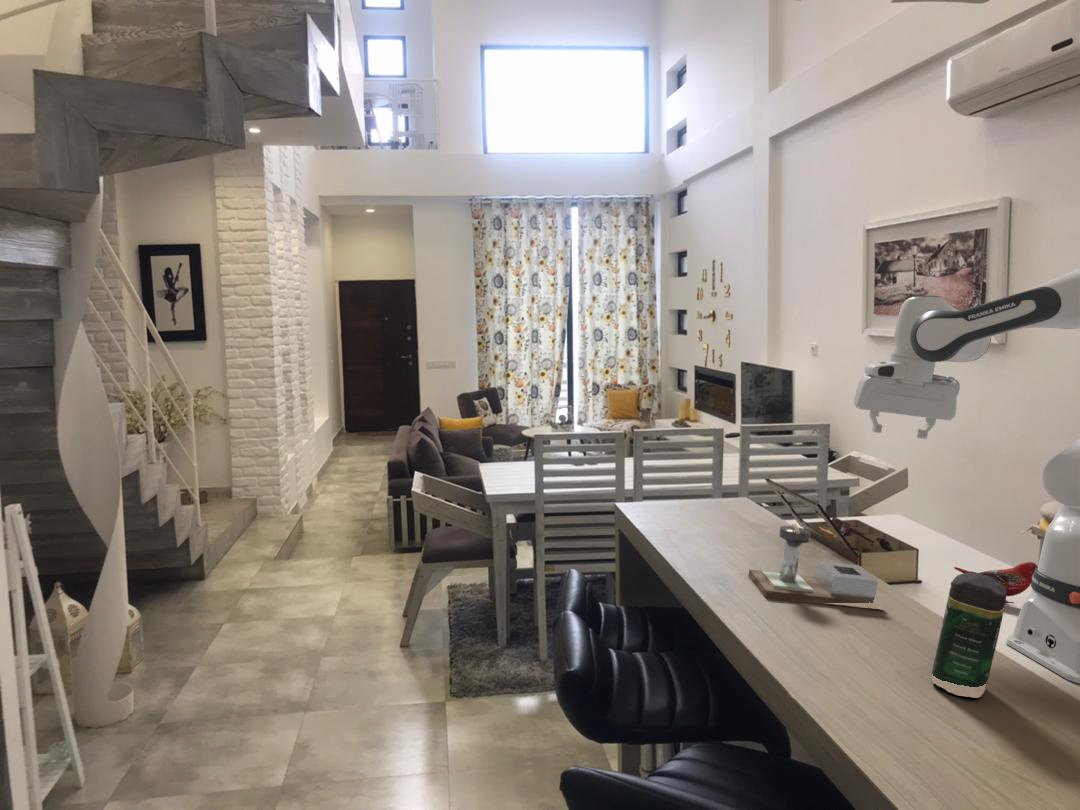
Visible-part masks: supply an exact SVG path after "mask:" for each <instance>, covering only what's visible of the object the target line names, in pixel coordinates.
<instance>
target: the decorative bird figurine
mask: <svg viewBox="0 0 1080 810" xmlns="http://www.w3.org/2000/svg"><path fill="white" fill-rule="evenodd" d="M953 568H954V569H955V570H956V571H958V572H959V573H960V572H961V574H964V573H969V572H971V571H970V570H967V569H963V568H960V567H956V566H954V567H953ZM1036 568H1038V565H1037V564H1036V563H1035V562H1033V561H1029V562H1028V561H1027V562H1023V563H1020V564H1018V565H1016V566H1014V567H1011V568H1005V569H993V570H991V569H990V570H987V571H981V572H979V573H980V574H983V575H987V576H990V577H994V578H996V579H998V581H999V582H1000V583H1001V584H1002V585H1003V586H1004V587H1005V588H1006V590H1007V595H1006V597H1012V596H1013V597H1014V596H1017V595H1019V594H1021V593H1023V592H1025V591H1026V590H1027V589H1028V588H1029V587H1031V583H1032V576H1033V574H1034V571H1035V569H1036ZM1007 604H1014V605H1015V602H1013V601H1008V600H1007V599H1006V601H1005V605H1007Z"/></svg>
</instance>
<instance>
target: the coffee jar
mask: <svg viewBox="0 0 1080 810" xmlns="http://www.w3.org/2000/svg"><path fill="white" fill-rule="evenodd" d="M1006 595H1007V590H1006V588H1005V587H1004V586H1003V585H1002V584H1001V583H1000V582H999V581H998V579H996V578H994V577H990V576H987V575H983V574H980V572H976V571H970V572H969V573H961V574H957V575H956V576H955V577H954V578H953V579H952V581H951V582H950V589H949V592H948V596H947V601H946V604H945V611H944V614H943V620H942V623H941V629H940V633H939V638H938V639H939V640H938V644H937V648H936V651H935V652H936V653H935V656H934V659H933V666H932V669H931V674H933V676H935V677H936V678H938V679H940V680H942V681H947V682H950V683H954V684H957V685H964V686H969V687H979V686H983V685H984V684H986V682H987V681H988V682H989V679H990V672H991V667H992V666H993V665H992V664H993V661H994V657H995V653H996V648H997V643H998V640H999V635H1000V630H1001V627H1002V621H1003V616H1004V611H1005V605H1006V604H1005V601H1006V600H1007V596H1006ZM988 682H987V683H988Z"/></svg>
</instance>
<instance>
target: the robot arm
mask: <svg viewBox="0 0 1080 810" xmlns="http://www.w3.org/2000/svg"><path fill="white" fill-rule="evenodd" d="M1031 328H1032V329H1034V328H1035V329H1037V328H1039V329H1040V328H1043V329H1044V328H1045V329H1056V330H1057V329H1058V330H1059V329H1060V330H1077V329H1080V267H1079V268H1077V269H1074V270H1072V271H1070V272H1067V273H1064V274H1062V275H1060V276H1058V277H1055V278H1053V279H1051V280H1048V281H1046V282H1044V283H1041V284H1038V285H1036V286H1034V287H1031V288H1028V289H1025V290H1023V291H1021V292H1019V293H1015V294H1011V295H1009V296H1006V297H1005V296H1004V297H1002V298H999V299H995V300H991V301H988V302H986V303H982V304H978V305H976V306H973V307H969V308H965V309H961V310H959V309H956V308H955V307H954V306H952V305H950V304H949V303H948V302H947V301H946V300H945V299H944V298H943V297H941V296H940V295H930V294H929V295H926V294H925V295H923V294H922V295H917V296H916V295H915V296H911V297H908V298H907V299H905V300H904V302H903V303H902V305H901V306H900V309H899V313H898V317H897V320H896V324H895V329H894V336H893V337H894V344H893V345H894V347H893V348H892V351H891V353H890V357H889V360H885V361H880V362H874V363H873V362H872V363H868V364H866V365H865V366H864V373H865V374H866V375H864V376H862V377H860V379H859V381H858V384H857V388H856V390H855V394H854V400H853V404H854V406H855V407H856V408H857V409H859V410H864V411H869V413H868V414H869V418H870V420H871V422H872V427H871V432H872V433H877V434H881V433H882V429H883V424H881V423H879V422H878V420H877V417H879V416H880V413H888V414H893V415H894V414H896V415H902V416H911V417H918V418H920V417H921V418H925V426H924V427H922V429H921V428H919V429H917V435H916V437H917V438H918V439H924V440H927V438H928V434H929V432H930V430H931V429H932V428H933V427H934V426H935V425H936V423H937V420H941V421H942V420H944V421H950V422H951V421H952V420H953V419H954V418H955V417H956V412H957V397H958V395H959V393H960V389H961V385H960V382H959V381H958V380H957V379H956V378H955V377H953V376H945V375H940V374H934V373H935V367H936V363H938V362H939V363H940V362H949V363H969V362H974V361H976V360H979V359H980V358H982V356H984V355H985V354H986V353H987V352H988V349H989V348H990V347H991V346H990V345H991V342H992V340H991V339H992V337H995V336H999V335H1003V334H1006V333H1009V332H1012V331H1016V330H1022V329H1031ZM1042 483H1043V486H1044V489H1045V491H1046V492H1047V494H1048V495H1049V496H1050V497H1051V498H1052V499H1053V500H1055V501H1056V502H1058V503H1060V505H1059V507H1058V509H1057V511H1056V513H1055V515H1054V517H1053V519H1052V521H1051V522H1050V524H1048V526H1047V529H1046V530H1045V534H1044V539H1043V543H1042V548H1041V552H1040V556H1039V561H1038V565H1037V567H1038V568H1036V569H1035V571H1034V574H1033V576H1032V583H1031V584H1030V587H1031V592H1030V594H1029V595H1028V597H1027V598H1026V599H1025V600H1024V602H1023V604H1022V606H1021V608H1020V611H1019V614H1018V617H1017V620H1016V622H1015V626H1014V628H1013V632H1012V634H1011V635H1009V636H1007V638H1006V640H1005V644H1006V645H1008V646H1009V647H1011V648H1012V649H1015V650H1017V651H1018V652H1020V653H1021V654H1023V655H1025V656H1026V657H1027V658H1028V657H1029V658H1030V659H1031V660H1034V661H1035V662H1037V663H1039V664H1040V665H1042V666H1044V667H1045V668H1047V669H1049V670H1051V671H1052V672H1053V673H1056V674H1057V675H1059V676H1061V677H1062V678H1064V679H1066V680H1067V681H1069V682H1072V683H1075V684H1080V438H1078V439H1076V440H1075V441H1074V442H1073V443H1072V444H1070V445H1069V446H1068V447H1066V448H1065V449H1064V450H1062V451H1060V452H1059V453H1058V454H1056V455H1055V456H1053V457H1052V458H1051V459H1050V460H1048V462H1047V463H1046V465H1045V466H1044V469H1043V471H1042Z"/></svg>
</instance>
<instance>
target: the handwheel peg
mask: <svg viewBox="0 0 1080 810" xmlns="http://www.w3.org/2000/svg"><path fill="white" fill-rule="evenodd" d="M811 535H812V533H811V532H810V531H809V530H807V529H805V528H802V527H798V526H797V524H795V523H792V524H791V525H781V526H780V528H779V534H778V536H779V537H780V538H781V539H783V540H785V542H784V548H783V552H782V553H783V554H782V560H781V565H780V571H779V573H780V576H779V579H780V580H781V581H783V582H787V583H795V580H796V575H798V568H799V562H800V555H801V550H802V544H807V543H810V541H811Z"/></svg>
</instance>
